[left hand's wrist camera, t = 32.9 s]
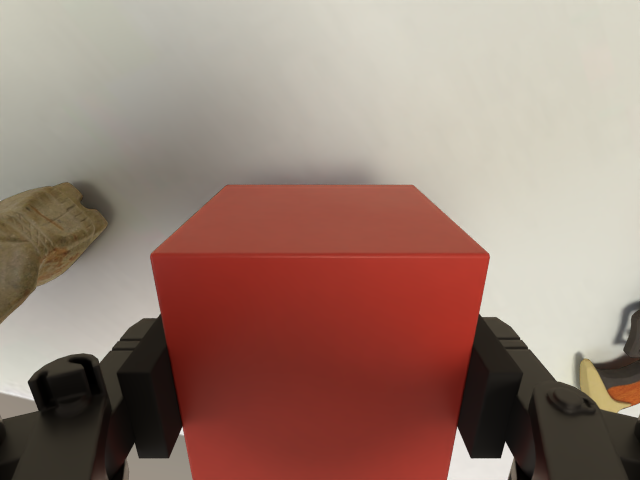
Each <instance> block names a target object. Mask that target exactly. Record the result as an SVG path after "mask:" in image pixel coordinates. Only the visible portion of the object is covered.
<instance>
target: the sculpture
mask: <svg viewBox="0 0 640 480" xmlns="http://www.w3.org/2000/svg"><path fill="white" fill-rule="evenodd" d="M82 198H83V195H82V194H81V193H80V192H79V191H78V190H77V189H76V188H75V187H74V186H73V185H71V184H70V183H68V182H65V183H61V184H59V185H56V186H53V187H51V186H46V187H41V188H36V189H32V190H28V191H25V192H22V193H19V194H17V195H14V196H11V197H9V198H7V199H5V200H3V201H1V202H0V324H1V323H2V322H3V321H4V320H5V319H6V318H7V317H8V316H9V315H10V314H11V313H12V312H13V311H14V310H15V309H16V308H18V307H19V306H20V305H21V304H22V303H23V302H24V301H25V300H26V298H27V297H28V296H29V295H30V294H31V293H32V292H33V291H34V290H35V288H36V287H37V286H40V285H43V284H45V283H47V282H49V281H51V280H53V279H55V278H56V277H58V276H60V275H61V274H63V273H64V272H65V271H66V270H67V269H68V268H69V267H70V266H71V265H72V264H73V263H74V262H75V261H76V260H77V259H78V258H79V257H80V256H81V254H82V253H83V252H84V251H85V250H86V249H87V247H88V246H89V245H90V244H91V243H92V242H93V241H94V240H95V239H96V238H97V237H98V236H99V235H100V234H101V232H102V231H103V230H104V229H105V228H106V227H107V225H108V222H107V221H106V220H105V218H104V217H103V216H102V215H101V214H100V212H99V211H97V210H96V209H88V208H85V207H84V206H83V205H81V203H80V201H81V200H82Z"/></svg>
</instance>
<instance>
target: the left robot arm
mask: <svg viewBox="0 0 640 480" xmlns="http://www.w3.org/2000/svg"><path fill="white" fill-rule="evenodd" d="M28 384H29V387H30V389H31V392H32V395H33V397H34V400H35V402H36V405H37V408H38V410H39V411H36V412H33V413H28V414H24V415H20V416H15V417H11V418H7V419H2V418H1V416H0V480H128V478H129V468H128V463H127V459H126V458H127V456H128V454H129V452H130V450H131V448H132V446H133V445H134V443H135V445H136V449H137V453H138V456H139V458H169V457H170V454H171V452H172V450H173V447H174V445H175V443H176V440H177V438H178V436H179V433H180V431H181V428H182V421H181V416H180V410H179V405H178V400H177V395H176V390H175V384H174V379H173V374H172V369H171V363H170V358H169V353H168V348H167V343H166V337H165V332H164V327H163V322H162V317H161V314H160V315H159V317H158V318H143V319H142V320H140V321H139V322H137V323H136V324H134V325H133V326H131V327H130V328H129V329H128V330H127V331H126V332H125V334H124V335H123V336H122V337H121V338H120V341H118V342H117V343H116V344H115V346H114V347H113V348H112V351H110V352H109V353H108V354H107V355H106V356H105V357H104V359H103V360H102V361H101V362H100V363H99V361H98V359H97V358H96V357H95V356H93V355H90V354H84V353H82V354H74V355H69V356H66V357H62V358H59V359H57V360H55V361H53V362H51V363H49V364H47V365H45V366H43V367H42V368H41V369H39V370H38V371H37V372H35V373H34V374H33V376H32V377H31V378H30V380H29V381H28ZM457 427H458V429H459V431H460V434H461V436H462V438H463V441H464V443H465V446H466V448H467V450H468V453H469V455H470V457H471V458H501V455H502V452H503V448H504V444H505V441H506V443H507V445H508V447H509V449H510V451H511V452H512V454H513V456H514V459H513V463H512V466H511V470H510V473H509V477H508V480H640V415H639V417H638V418H636V417H631V416H627V415H623V414H618V413H614V412H610V411H606V410H602V409H600V408H599V407H598V405H597V404H596V402H595V401H594V400H593V399H591V398H590V397H589V396H588V395H587V394H586V393H584V392H582V391H580V390H579V389H577V388H575V387H573V386H571V385H568V384H565V383H562V382H557V381H556V380H555V379H554V377H553V376H552V375H551V374H550V373H549V372H548V370H547V369H546V368H545V367H544V366H543V364H542V363H541V362H540V361H539V360H538V359H537V357H536V356H535V355H534V354H533V353H532V351H531V350H530V349H528V347H527V345H526V344H525V343H524V342H523V341H522V340H520V337H519V336H518V335H517V334H516V332H515V331H514V330H513V329H512V328H511V327H510V326H509V325H507V324H506V323H504V322H503V321H501V320H500V319H498V318H497V317H481V316H480V314H479V316H478V321H477V326H476V331H475V337H474V342H473V347H472V352H471V357H470V363H469V368H468V373H467V378H466V383H465V388H464V394H463V399H462V404H461V409H460V414H459V419H458V425H457Z"/></svg>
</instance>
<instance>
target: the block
mask: <svg viewBox="0 0 640 480" xmlns="http://www.w3.org/2000/svg"><path fill="white" fill-rule="evenodd" d="M150 259H151V264H152V270H153V275H154V280H155V285H156V290H157V296H158V301H159V306H160V311H161V317H162V322H163V327H164V332H165V337H166V343H167V348H168V353H169V358H170V363H171V369H172V374H173V379H174V384H175V390H176V395H177V400H178V405H179V410H180V416H181V421H182V426H183V431H184V437H185V442H186V447H187V452H188V457H189V463H190V468H191V473H192V478H193V480H447V476H448V471H449V466H450V461H451V456H452V450H453V445H454V440H455V435H456V430H457V425H458V419H459V414H460V409H461V404H462V399H463V394H464V388H465V383H466V378H467V373H468V368H469V363H470V357H471V352H472V347H473V342H474V337H475V331H476V326H477V321H478V316H479V311H480V306H481V300H482V295H483V290H484V285H485V280H486V275H487V269H488V264H489V259H490V256H489V253H488V252H487V251H485V250H484V249H483V248H482V247H481V246H480V245H479V244H478V243H477V242H475V241H474V240H473V239H472V238H471V237H470V236H469V235H468V234H467V233H466V232H464V231H463V230H462V229H461V228H460V227H459V226H458V225H457V224H456V223H455V222H453V221H452V220H451V219H450V218H449V217H448V216H447V215H446V214H445V213H443V212H442V211H441V210H440V209H439V208H438V207H437V206H436V205H435V204H434V203H432V202H431V201H430V200H429V199H428V198H427V197H426V196H425V195H424V194H422V193H421V192H420V191H419V190H418V189H417V188H416V187H415V186H414V185H226V186H225V187H224V188H223V189H222V190H221V191H219V192H218V193H217V194H216V195H215V196H214V197H213V198H212V199H211V200H210V201H208V202H207V203H206V204H205V205H204V206H203V207H202V208H201V209H200V210H198V211H197V212H196V213H195V214H194V215H193V216H192V217H191V218H190V219H189V220H187V221H186V222H185V223H184V224H183V225H182V226H181V227H180V228H179V229H178V230H176V231H175V232H174V233H173V234H172V235H171V236H170V237H169V238H168V239H166V240H165V241H164V242H163V243H162V244H161V245H160V246H159V247H158V248H157V249H155V250H154V251H153V252H152V253H151V255H150Z"/></svg>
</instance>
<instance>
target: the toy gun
mask: <svg viewBox="0 0 640 480" xmlns="http://www.w3.org/2000/svg"><path fill="white" fill-rule="evenodd" d="M623 351H624V352H625V353H626V354H627V355H628V356H630V357H637V358H640V310H638V311H637V312H635V313H634V314H633V315H632V317H631V330H630V334H629V337H628V340H627V342H626V344H625V347H624V350H623ZM580 387H581V391H582V392H584V393H586V394H587V395H588V396H589V397H590V398H591V399H593V400H594V401H595V402H596V404H597V405H598V407H599V408H600V409H602V410H606V411H610V412H614V413H617V412H618V411H619V410H622V409H625V408H628V407H631V406H633V405H636V404H639V403H640V360H638V361H636V362H634V363H632V364H630V365H628V366H625V367H622V368H619V369H597V368H595V367H594V366H593V364H592V362H591V361H590V360H588V359H584V360H582V361H581V364H580Z"/></svg>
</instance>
